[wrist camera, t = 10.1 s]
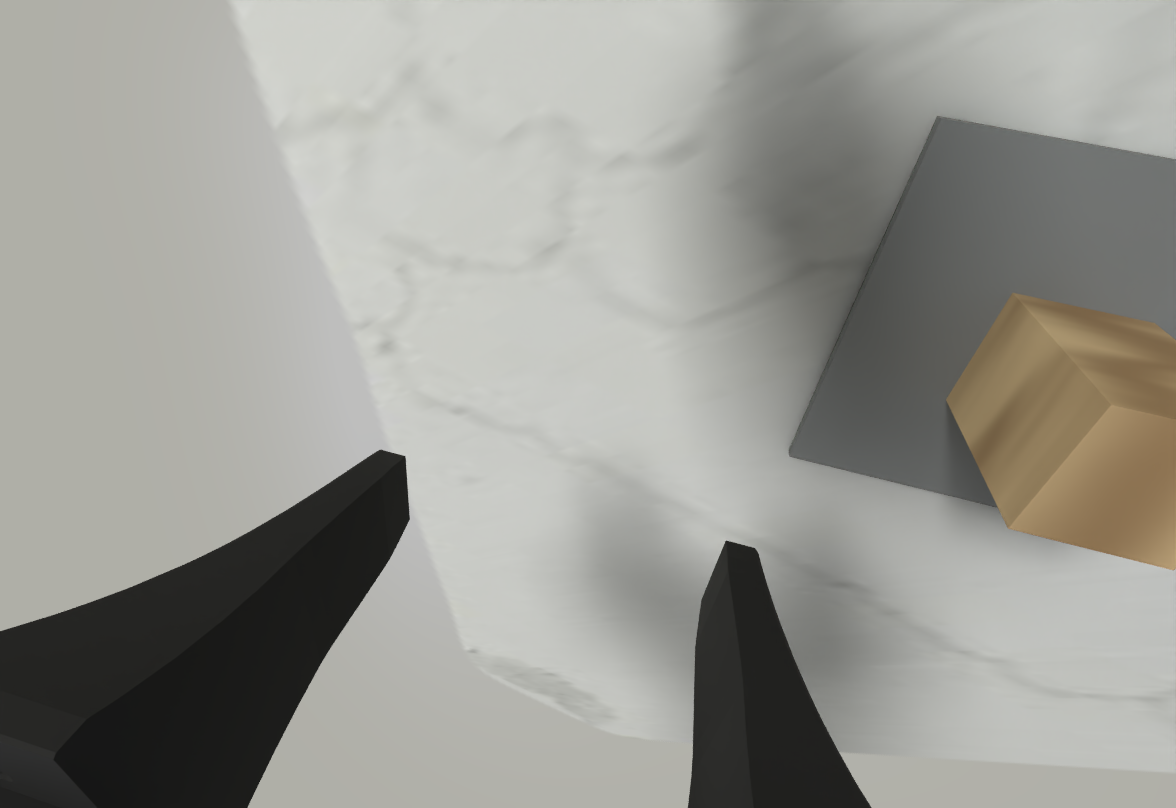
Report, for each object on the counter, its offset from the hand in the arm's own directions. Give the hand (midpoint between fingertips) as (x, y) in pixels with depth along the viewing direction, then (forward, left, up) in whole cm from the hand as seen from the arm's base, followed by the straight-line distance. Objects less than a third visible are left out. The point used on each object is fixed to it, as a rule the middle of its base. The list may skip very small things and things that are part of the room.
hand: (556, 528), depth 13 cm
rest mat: (-13, -2, -10) cm, 17 cm away
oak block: (-13, -2, -10) cm, 17 cm away
